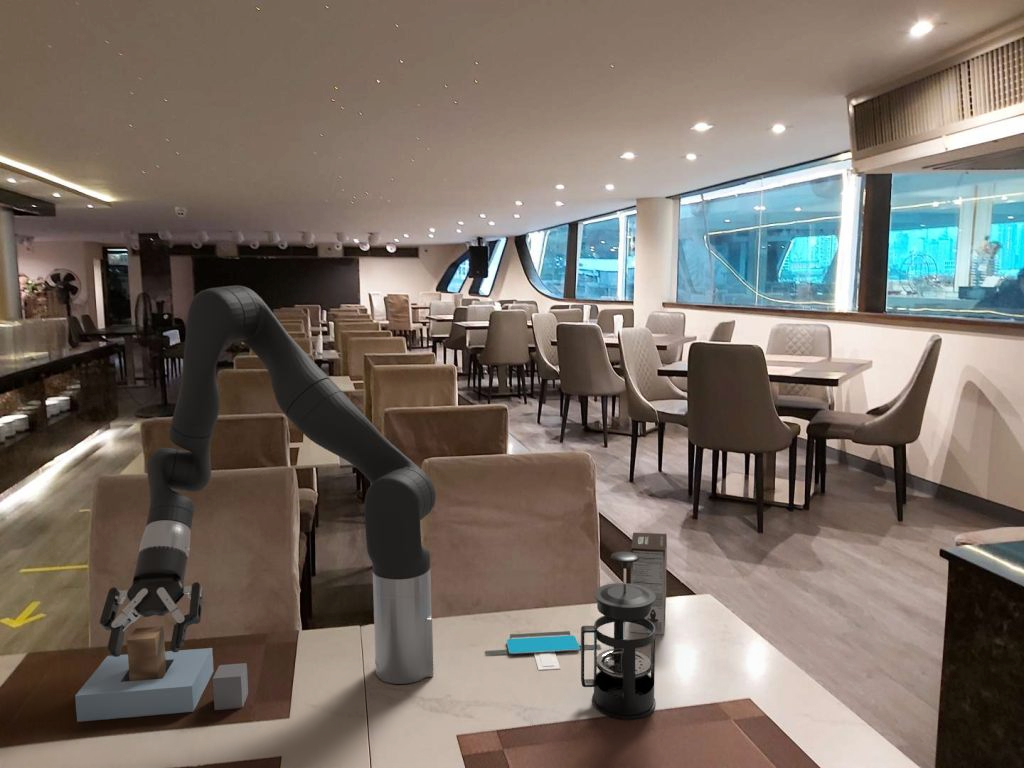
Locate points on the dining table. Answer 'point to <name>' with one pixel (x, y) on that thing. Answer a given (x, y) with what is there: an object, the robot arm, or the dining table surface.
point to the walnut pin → (146, 654)
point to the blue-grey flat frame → (145, 687)
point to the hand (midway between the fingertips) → (145, 652)
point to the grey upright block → (230, 686)
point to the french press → (622, 649)
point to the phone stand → (542, 647)
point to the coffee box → (651, 576)
